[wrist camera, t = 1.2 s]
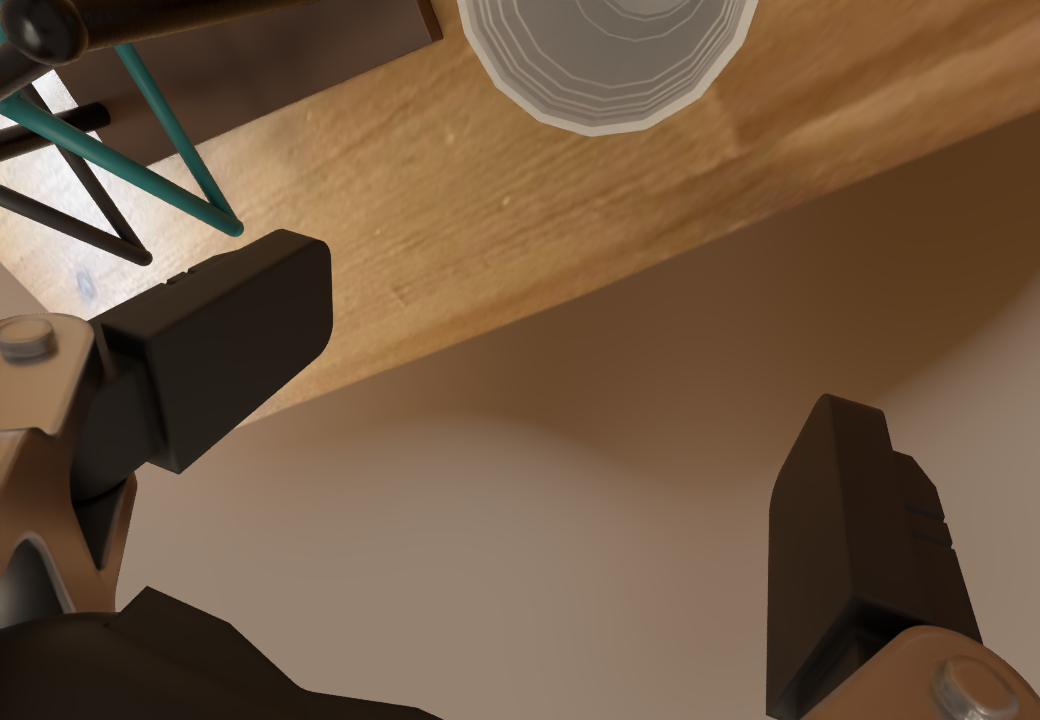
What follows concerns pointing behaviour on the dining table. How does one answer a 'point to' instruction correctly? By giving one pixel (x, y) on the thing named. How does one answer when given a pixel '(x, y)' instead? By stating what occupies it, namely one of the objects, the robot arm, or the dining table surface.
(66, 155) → the charcoal hanger
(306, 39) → the rail base
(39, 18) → the clothes rail
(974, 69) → the dining table surface
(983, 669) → the robot arm
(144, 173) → the teal hanger
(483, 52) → the plastic cup
